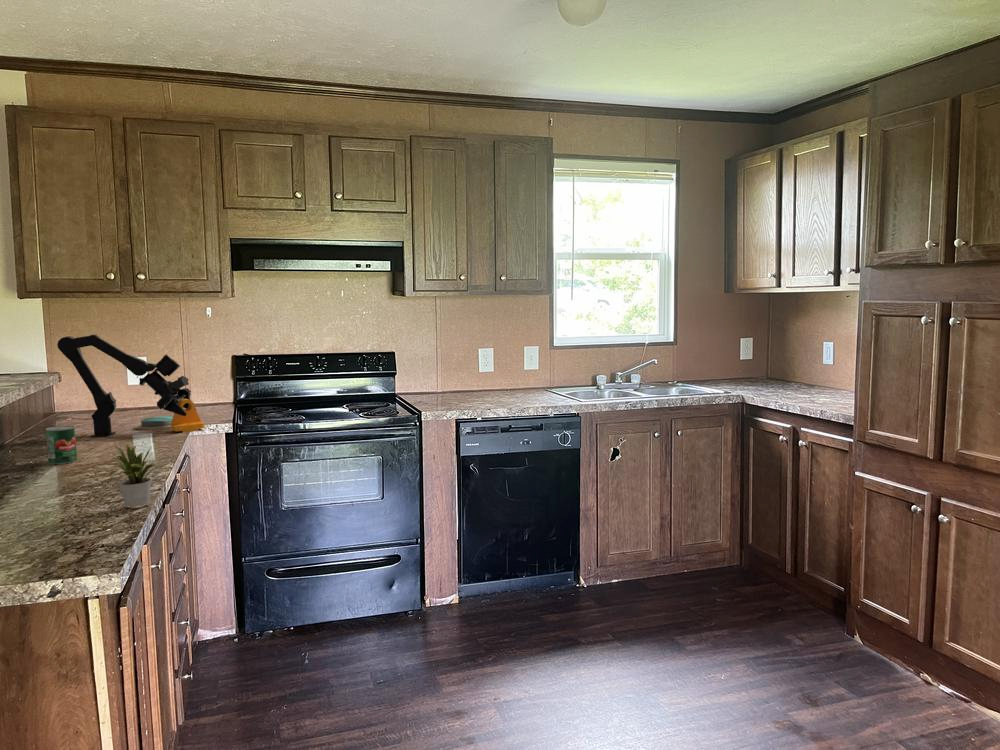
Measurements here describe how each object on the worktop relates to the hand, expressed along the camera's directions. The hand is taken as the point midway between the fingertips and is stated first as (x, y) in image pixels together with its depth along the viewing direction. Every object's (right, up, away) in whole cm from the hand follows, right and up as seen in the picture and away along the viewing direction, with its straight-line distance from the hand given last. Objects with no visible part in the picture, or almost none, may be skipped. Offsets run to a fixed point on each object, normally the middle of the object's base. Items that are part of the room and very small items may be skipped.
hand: (190, 413), depth 287 cm
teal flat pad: (-16, -6, +11) cm, 20 cm away
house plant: (+27, -18, -102) cm, 107 cm away
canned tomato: (-19, -13, -51) cm, 56 cm away
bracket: (-1, -7, +1) cm, 7 cm away
